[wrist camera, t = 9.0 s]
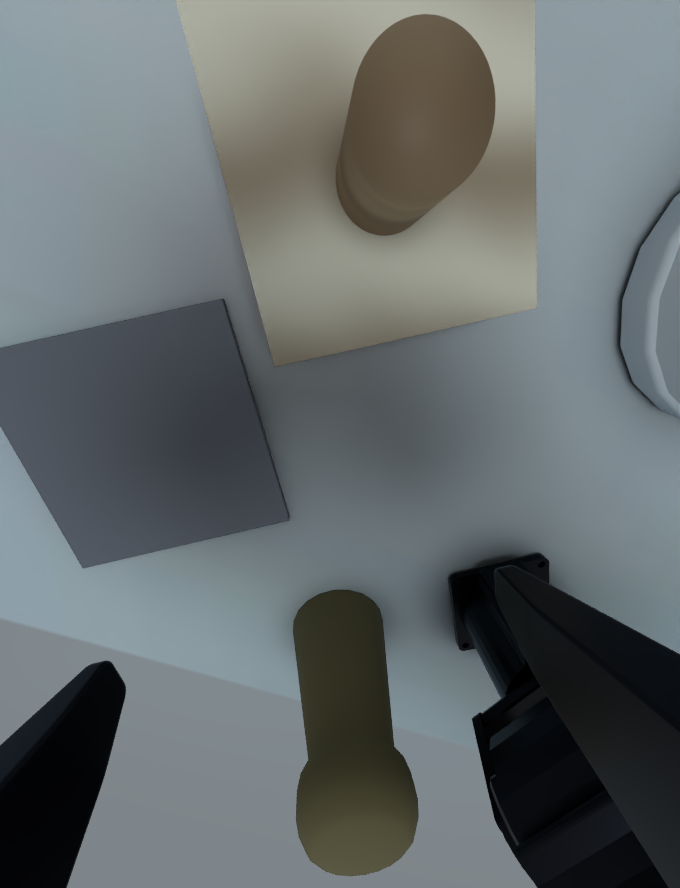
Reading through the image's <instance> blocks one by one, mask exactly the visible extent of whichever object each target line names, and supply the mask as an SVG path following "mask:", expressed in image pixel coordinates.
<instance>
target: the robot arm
mask: <svg viewBox="0 0 680 888" xmlns="http://www.w3.org/2000/svg"><path fill="white" fill-rule="evenodd" d="M539 562H540V563H539ZM457 581H459V582H457ZM456 582H457V583H456ZM449 588H450V596H451V604H452V611H453V619H454V627H455V635H456V642H457V645H458V647H459V649H460V650H462V651H466V650H470V649H475V648H476V650H477V652H478V654H479V656H480V658H481V660H482V662H483V664H484V666H485V668H486V670H487V672H488V674H489V676H490V678H491V680H492V681H493V683H494V685H495V687H496V689H497V691H498V693H499V695H500V697H501V699H500V700H499V701H498V702H497V703H495V704H494V705H493V706H491V707H490V708H489V709H487V710H486V711H485V712H483V713H478V714H477V715H476V716H474V717H473V718H472V721H473V726H474V730H475V735H476V740H477V744H478V748H479V753H480V757H481V761H482V766H483V770H484V774H485V779H486V784H487V788H488V793H489V797H490V801H491V805H492V810H493V814H494V818H495V821H496V823H497V825H498V827H499V829H500V830H501V831H502V833H503V835H504V838H505V840H506V841H507V843H508V844H509V846H510V848H511V850H512V852H513V853H514V855H515V857H516V858H517V860H518V861H519V863H520V864H521V866H522V868H523V869H524V870H525V871H526V872H527V874H528V875H529V877H530V878H531V879H532V880H533V882H534V883H535V885H536V886H537V888H680V654H678V653H677V652H675V651H673V650H671V649H669V648H667V647H665V646H663V645H662V644H660V643H658V642H656V641H654V640H652V639H650V638H649V637H647V636H645V635H643V634H641V633H639V632H637V631H635V630H634V629H632V628H630V627H628V626H626V625H624V624H622V623H621V622H619V621H617V620H615V619H613V618H611V617H609V616H608V615H606V614H604V613H602V612H600V611H598V610H596V609H594V608H593V607H591V606H589V605H587V604H585V603H583V602H581V601H580V600H578V599H576V598H574V597H572V596H570V595H568V594H567V593H565V592H563V591H561V590H559V589H557V588H555V587H553V586H552V585H550V584H549V561H548V560H547V559H546V558H545V557H544V556H543V555H541V554H537V555H533V556H529V557H525V558H520V559H516V560H512V561H508V562H503V563H499V564H495V565H491V566H486V567H482V568H478V569H474V570H469V571H465V572H461V573H457V574H454V575H452V576H451V577H450V578H449ZM125 694H126V687H125V683H124V681H123V680H122V678H121V677H120V675H119V673H118V672H117V670H116V668H115V667H114V665H113V664H112V663H111V662H110V661H102V662H98V663H94V664H91V665H89V666H87V667H86V668H85V669H84V670H82V671H81V672H80V673H79V674H78V675H77V676H76V677H75V678H74V679H73V680H72V681H71V682H69V683H68V684H67V685H66V686H65V687H64V688H63V689H62V690H61V691H59V692H58V693H57V694H56V695H55V696H54V697H53V698H52V699H51V700H50V701H48V702H47V703H46V704H45V705H44V706H43V707H42V708H41V709H40V710H39V711H37V712H36V713H35V714H34V715H33V716H32V717H31V718H30V719H29V720H28V721H26V722H25V723H24V724H23V725H22V726H21V727H20V728H19V729H18V730H17V731H16V732H15V733H13V734H12V735H11V736H10V737H9V738H8V739H7V740H6V741H5V742H3V744H1V745H0V888H67V885H68V882H69V879H70V876H71V873H72V870H73V867H74V864H75V861H76V858H77V855H78V853H79V850H80V847H81V844H82V841H83V838H84V835H85V832H86V829H87V826H88V824H89V821H90V818H91V815H92V812H93V809H94V806H95V803H96V800H97V797H98V794H99V791H100V788H101V785H102V782H103V779H104V776H105V772H106V769H107V765H108V761H109V757H110V754H111V750H112V746H113V742H114V738H115V734H116V730H117V726H118V723H119V719H120V714H121V711H122V707H123V703H124V699H125Z"/></svg>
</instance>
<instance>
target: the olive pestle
mask: <svg viewBox="0 0 680 888" xmlns="http://www.w3.org/2000/svg"><path fill="white" fill-rule="evenodd" d="M293 635H294V643H295V651H296V660H297V668H298V677H299V685H300V693H301V702H302V710H303V718H304V727H305V735H306V743H307V751H308V761H307V763H306V765H305V767H304V769H303V771H302V772H301V775H300V779H299V784H298V789H297V805H296V823H297V829H298V834H299V838H300V840H301V843H302V845H303V847H304V849H305V852H306V854H307V855H308V857H309V859H310V861H312V862H313V863H314V864H316V865H317V866H318V867H320V868H321V869H323V870H324V871H326V872H329V873H332V874H335V875H342V876H357V875H366V874H369V873H373V872H377V871H380V870H382V869H384V868H386V867H389V866H391V865H392V864H393V863H395V862H396V861H398V860H399V859H400V858H401V857H402V856H403V855H404V854H405V852H406V851H407V850H408V848H409V847H410V846H411V844H412V843H413V840H414V836H415V831H416V826H417V821H418V798H417V794H416V791H415V786H414V782H413V779H412V775H411V772H410V769H409V767H408V766H407V763H406V761H405V759H404V757H403V755H401V754H400V752H399V751H398V750H397V749H396V748H395V747H394V740H393V730H392V719H391V708H390V697H389V686H388V675H387V664H386V653H385V642H384V631H383V620H382V616H381V612H380V609H379V608H378V607H377V605H376V604H375V603H374V601H373V600H371V599H370V598H368V597H367V596H365V595H363V594H361V593H358V592H354V591H350V590H333V591H330V592H326V593H322V594H319V595H317V596H316V597H314V598H312V599H310V600H309V601H307V602H306V603H305V604H304V605H303V606H302V607H301V608H300V609H299V611H298V613H297V615H296V617H295V619H294V624H293Z"/></svg>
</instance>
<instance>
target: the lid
mask: <svg viewBox="0 0 680 888" xmlns="http://www.w3.org/2000/svg"><path fill="white" fill-rule="evenodd" d="M176 4H177V7H178V11H179V15H180V18H181V22H182V26H183V30H184V33H185V37H186V41H187V44H188V48H189V52H190V55H191V59H192V63H193V67H194V70H195V74H196V78H197V81H198V85H199V89H200V92H201V96H202V100H203V104H204V107H205V111H206V115H207V118H208V122H209V126H210V129H211V133H212V137H213V140H214V144H215V148H216V152H217V155H218V159H219V163H220V166H221V170H222V174H223V177H224V181H225V185H226V189H227V192H228V196H229V200H230V203H231V207H232V211H233V214H234V218H235V222H236V226H237V229H238V233H239V237H240V240H241V244H242V248H243V251H244V255H245V259H246V263H247V266H248V270H249V274H250V277H251V281H252V285H253V288H254V292H255V296H256V300H257V303H258V307H259V311H260V314H261V318H262V322H263V325H264V329H265V333H266V336H267V340H268V344H269V348H270V351H271V355H272V359H273V362H274V366H275V367H278V366H282V365H287V364H291V363H296V362H300V361H305V360H309V359H313V358H318V357H322V356H327V355H331V354H336V353H340V352H345V351H349V350H354V349H358V348H363V347H367V346H371V345H376V344H380V343H385V342H389V341H394V340H398V339H403V338H407V337H412V336H416V335H420V334H425V333H429V332H434V331H438V330H443V329H447V328H452V327H456V326H461V325H465V324H470V323H474V322H478V321H483V320H487V319H492V318H496V317H501V316H505V315H510V314H514V313H519V312H523V311H527V310H532V309H536V308H537V224H536V107H535V0H178V1H176Z"/></svg>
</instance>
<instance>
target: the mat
mask: <svg viewBox="0 0 680 888" xmlns="http://www.w3.org/2000/svg"><path fill="white" fill-rule="evenodd" d="M0 426H1V428H2V430H3V431H4V433H5V435H6V437H7V438H8V440H9V442H10V444H11V445H12V447H13V449H14V450H15V452H16V454H17V456H18V457H19V459H20V461H21V463H22V464H23V466H24V468H25V469H26V471H27V473H28V475H29V476H30V478H31V480H32V482H33V483H34V485H35V487H36V488H37V490H38V492H39V494H40V495H41V497H42V499H43V501H44V502H45V504H46V506H47V507H48V509H49V511H50V513H51V514H52V516H53V518H54V519H55V521H56V523H57V525H58V526H59V528H60V530H61V532H62V533H63V535H64V537H65V538H66V540H67V542H68V544H69V545H70V547H71V549H72V551H73V552H74V554H75V556H76V557H77V559H78V561H79V563H80V564H81V566H82V568H86V567H91V566H95V565H99V564H104V563H108V562H112V561H117V560H121V559H125V558H130V557H134V556H138V555H143V554H147V553H151V552H155V551H160V550H164V549H168V548H173V547H177V546H181V545H186V544H190V543H194V542H199V541H203V540H207V539H211V538H216V537H220V536H224V535H229V534H233V533H237V532H242V531H246V530H250V529H255V528H259V527H263V526H268V525H272V524H276V523H280V522H285V521H289V513H288V510H287V507H286V503H285V500H284V497H283V494H282V490H281V487H280V484H279V480H278V477H277V474H276V470H275V467H274V464H273V461H272V457H271V454H270V451H269V447H268V444H267V441H266V437H265V434H264V431H263V427H262V424H261V421H260V418H259V414H258V411H257V408H256V404H255V401H254V398H253V394H252V391H251V388H250V384H249V381H248V378H247V375H246V371H245V368H244V365H243V361H242V358H241V355H240V351H239V348H238V345H237V342H236V338H235V335H234V332H233V328H232V325H231V322H230V318H229V315H228V312H227V308H226V305H225V302H224V299H219V300H215V301H210V302H206V303H201V304H197V305H192V306H188V307H183V308H179V309H175V310H170V311H166V312H161V313H157V314H152V315H148V316H143V317H139V318H134V319H130V320H125V321H121V322H116V323H112V324H107V325H103V326H98V327H94V328H89V329H85V330H80V331H76V332H71V333H67V334H62V335H58V336H53V337H49V338H45V339H40V340H36V341H31V342H27V343H22V344H18V345H13V346H9V347H4V348H0Z"/></svg>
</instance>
